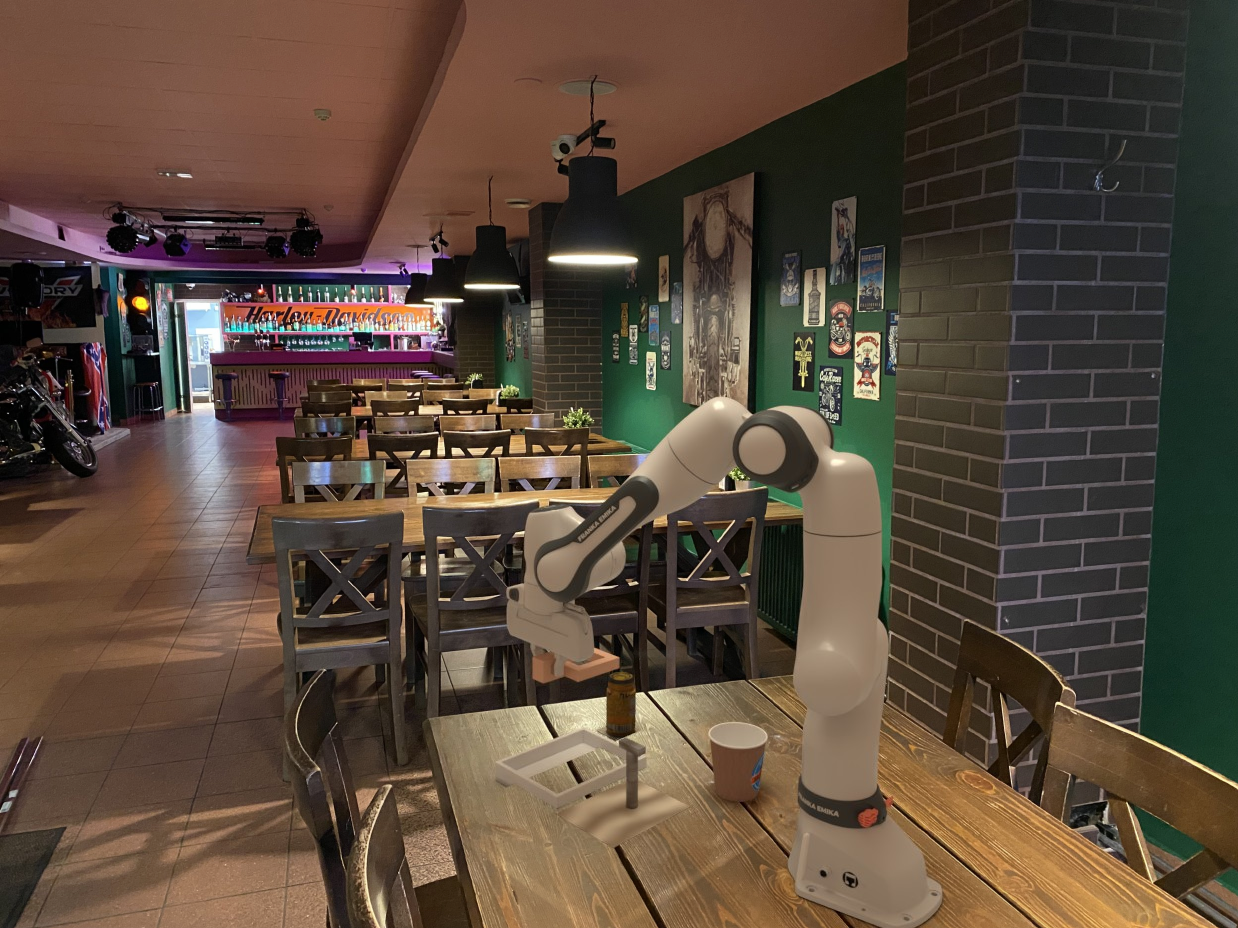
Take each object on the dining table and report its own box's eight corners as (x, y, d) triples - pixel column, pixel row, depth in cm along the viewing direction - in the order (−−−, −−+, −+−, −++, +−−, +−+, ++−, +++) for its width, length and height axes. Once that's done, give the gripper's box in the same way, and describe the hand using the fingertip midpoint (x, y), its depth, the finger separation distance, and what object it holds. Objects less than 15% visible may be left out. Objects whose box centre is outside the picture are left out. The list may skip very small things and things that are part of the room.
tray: (646, 774, 165) (646, 756, 164) (556, 816, 150) (556, 797, 149) (583, 743, 177) (583, 727, 177) (495, 779, 162) (495, 761, 162)
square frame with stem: (619, 667, 162) (619, 646, 161) (556, 689, 152) (556, 666, 151) (582, 653, 169) (583, 633, 168) (520, 672, 159) (520, 651, 158)
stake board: (690, 814, 150) (691, 743, 149) (613, 856, 138) (613, 779, 136) (632, 785, 160) (632, 718, 159) (555, 821, 148) (555, 749, 146)
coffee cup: (765, 816, 150) (766, 749, 148) (704, 810, 152) (705, 744, 150) (767, 787, 160) (768, 724, 158) (710, 781, 162) (711, 719, 160)
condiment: (623, 721, 188) (623, 667, 186) (649, 735, 181) (650, 679, 180) (596, 731, 183) (596, 675, 182) (622, 745, 177) (622, 687, 175)
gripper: (603, 605, 150) (602, 683, 151) (528, 580, 164) (528, 652, 166) (574, 613, 145) (574, 693, 147) (500, 586, 160) (500, 660, 162)
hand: (549, 671), depth 157 cm, fingers closed on square frame with stem, 3 cm apart
